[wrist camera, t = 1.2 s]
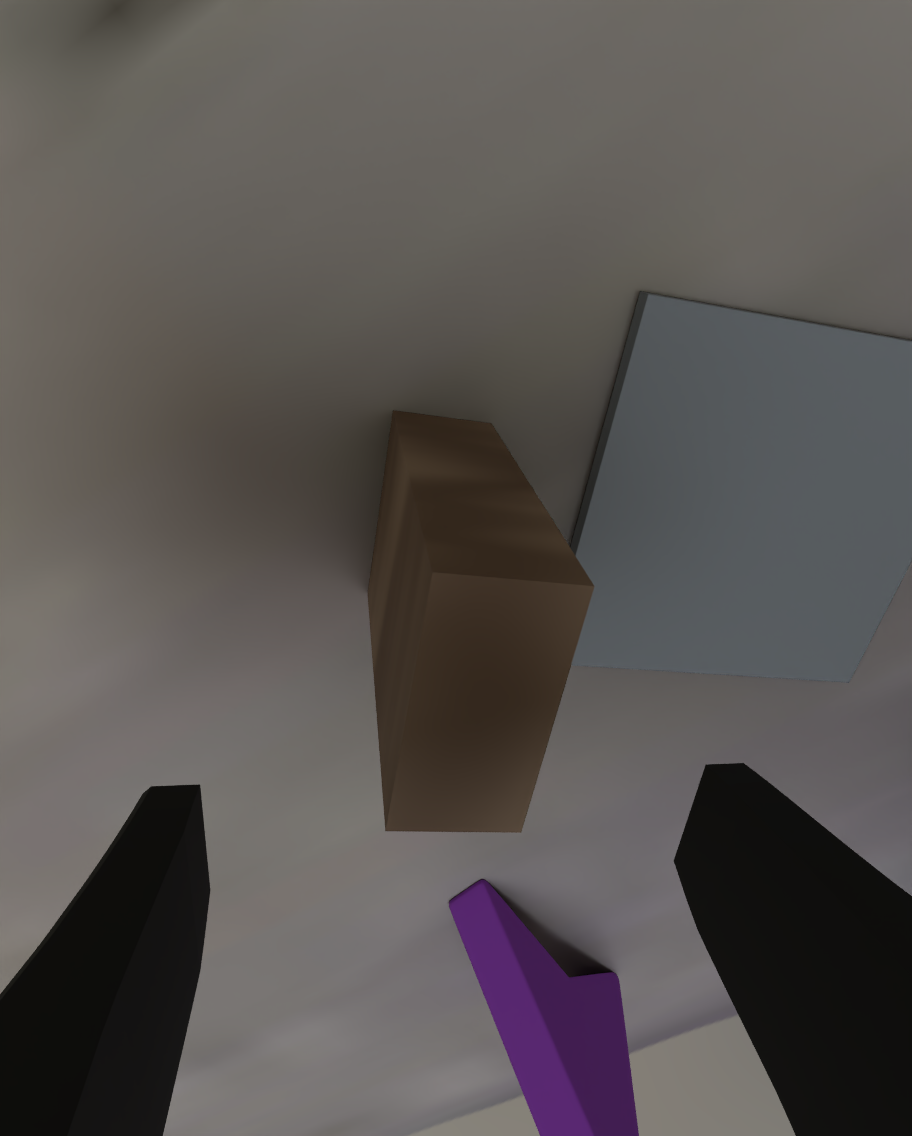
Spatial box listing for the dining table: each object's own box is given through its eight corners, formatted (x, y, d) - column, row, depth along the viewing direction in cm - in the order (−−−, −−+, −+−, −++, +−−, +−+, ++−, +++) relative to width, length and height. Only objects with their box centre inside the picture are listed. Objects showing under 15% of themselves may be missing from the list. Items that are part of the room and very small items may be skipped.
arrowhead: (528, 836, 31) (677, 1065, 28) (498, 856, 31) (643, 1085, 28) (444, 912, 22) (654, 1268, 19) (404, 940, 22) (604, 1294, 19)
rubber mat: (999, 356, 18) (1014, 360, 18) (839, 673, 23) (849, 682, 23) (639, 291, 16) (648, 294, 16) (540, 653, 21) (545, 663, 20)
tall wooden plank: (491, 423, 17) (594, 586, 10) (455, 600, 20) (521, 832, 13) (393, 410, 17) (432, 572, 10) (367, 593, 19) (385, 831, 12)
